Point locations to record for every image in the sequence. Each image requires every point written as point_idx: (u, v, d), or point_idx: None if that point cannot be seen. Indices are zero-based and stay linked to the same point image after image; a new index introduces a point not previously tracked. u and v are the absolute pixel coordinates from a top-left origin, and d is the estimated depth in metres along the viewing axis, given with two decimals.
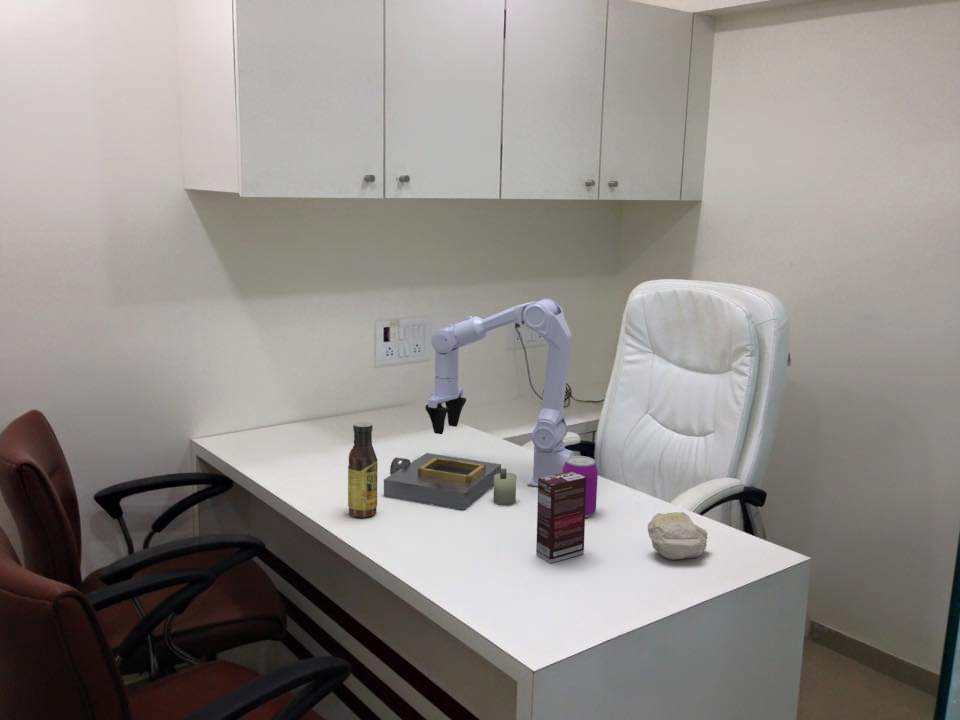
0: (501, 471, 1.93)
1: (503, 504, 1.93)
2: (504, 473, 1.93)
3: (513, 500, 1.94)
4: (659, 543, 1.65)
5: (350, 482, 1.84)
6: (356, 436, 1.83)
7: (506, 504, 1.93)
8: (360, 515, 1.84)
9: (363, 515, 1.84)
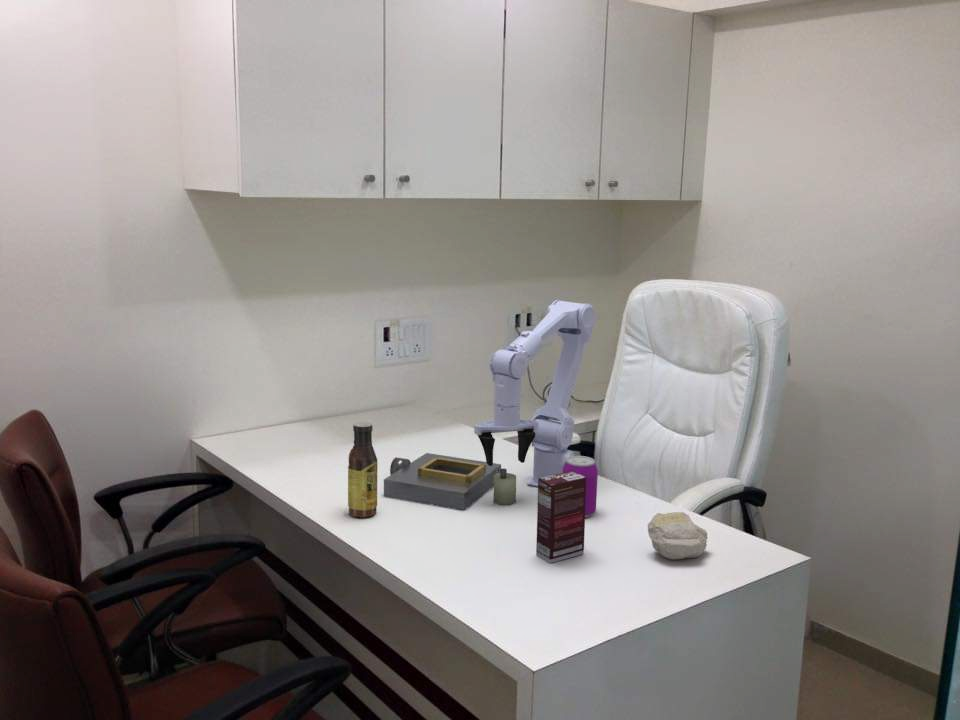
0: (501, 471, 1.93)
1: (503, 504, 1.93)
2: (504, 473, 1.93)
3: (513, 500, 1.94)
4: (659, 543, 1.65)
5: (350, 482, 1.84)
6: (356, 436, 1.83)
7: (506, 504, 1.93)
8: (360, 515, 1.84)
9: (363, 515, 1.84)
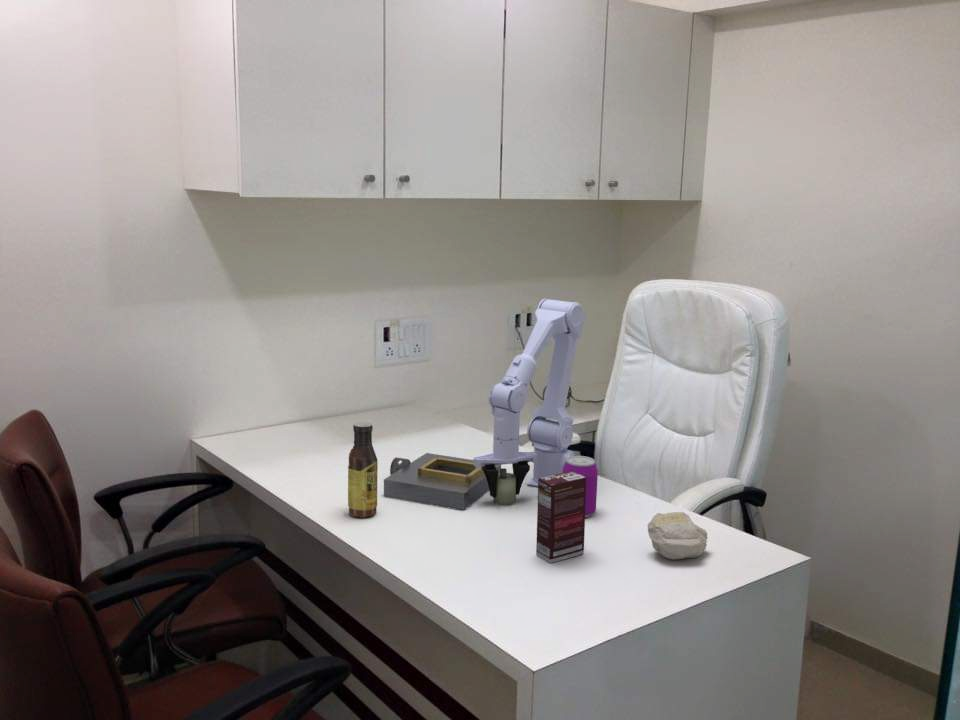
0: (501, 471, 1.93)
1: (503, 504, 1.93)
2: (504, 473, 1.93)
3: (513, 500, 1.94)
4: (659, 543, 1.65)
5: (350, 482, 1.84)
6: (356, 436, 1.83)
7: (506, 504, 1.93)
8: (360, 515, 1.84)
9: (363, 515, 1.84)
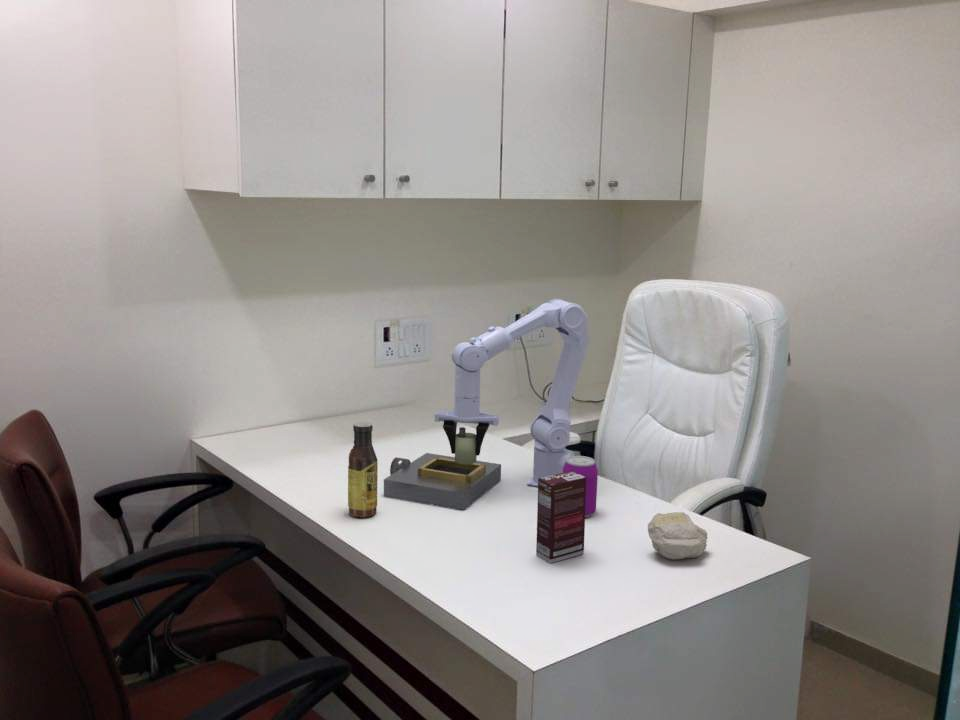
0: (459, 429, 1.97)
1: (459, 462, 1.97)
2: (462, 432, 1.96)
3: (470, 460, 1.97)
4: (659, 543, 1.65)
5: (350, 482, 1.84)
6: (356, 436, 1.83)
7: (462, 463, 1.97)
8: (360, 515, 1.84)
9: (363, 515, 1.84)
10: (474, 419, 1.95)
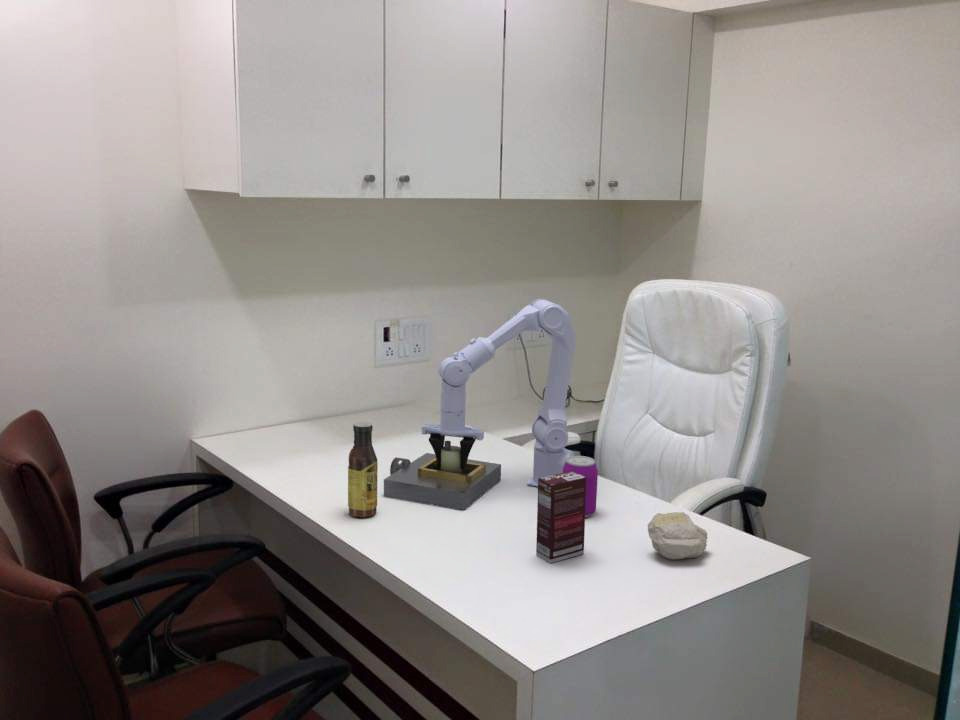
0: None
1: None
2: (446, 445, 1.99)
3: None
4: (659, 543, 1.65)
5: (350, 482, 1.84)
6: (356, 436, 1.83)
7: None
8: (360, 515, 1.84)
9: (363, 515, 1.84)
10: (458, 433, 1.97)
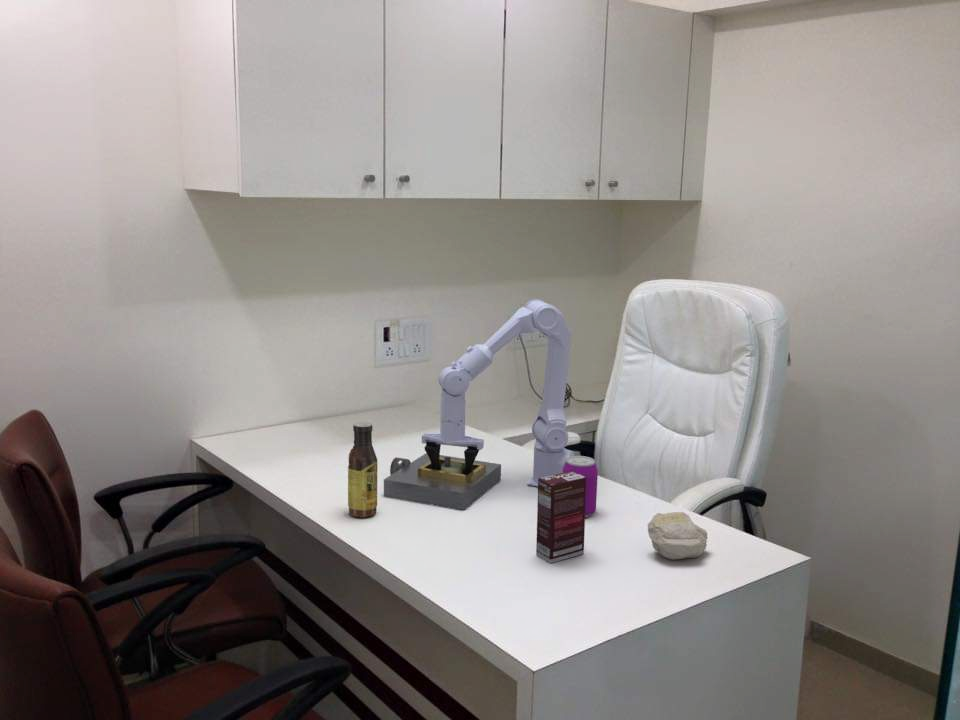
0: None
1: None
2: (446, 461, 2.00)
3: None
4: (659, 543, 1.65)
5: (350, 482, 1.84)
6: (356, 436, 1.83)
7: None
8: (360, 515, 1.84)
9: (363, 515, 1.84)
10: (458, 442, 1.98)
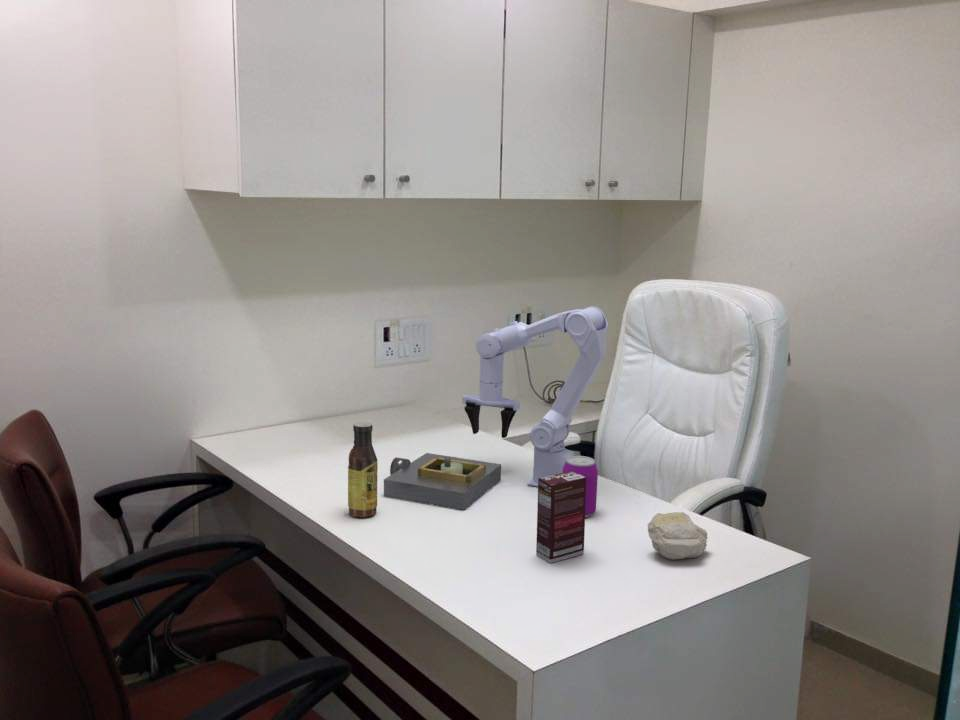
0: None
1: None
2: (446, 461, 2.00)
3: None
4: (659, 543, 1.65)
5: (350, 482, 1.84)
6: (356, 436, 1.83)
7: None
8: (360, 515, 1.84)
9: (363, 515, 1.84)
10: (495, 403, 2.10)
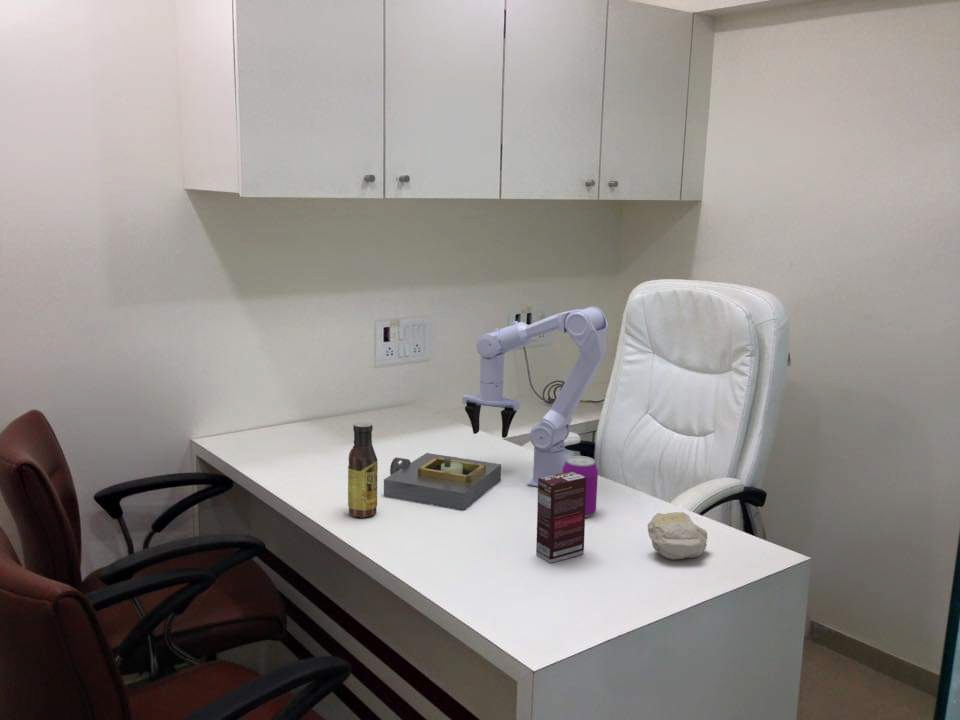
0: None
1: None
2: (446, 461, 2.00)
3: None
4: (659, 543, 1.65)
5: (350, 482, 1.84)
6: (356, 436, 1.83)
7: None
8: (360, 515, 1.84)
9: (363, 515, 1.84)
10: (495, 403, 2.10)
